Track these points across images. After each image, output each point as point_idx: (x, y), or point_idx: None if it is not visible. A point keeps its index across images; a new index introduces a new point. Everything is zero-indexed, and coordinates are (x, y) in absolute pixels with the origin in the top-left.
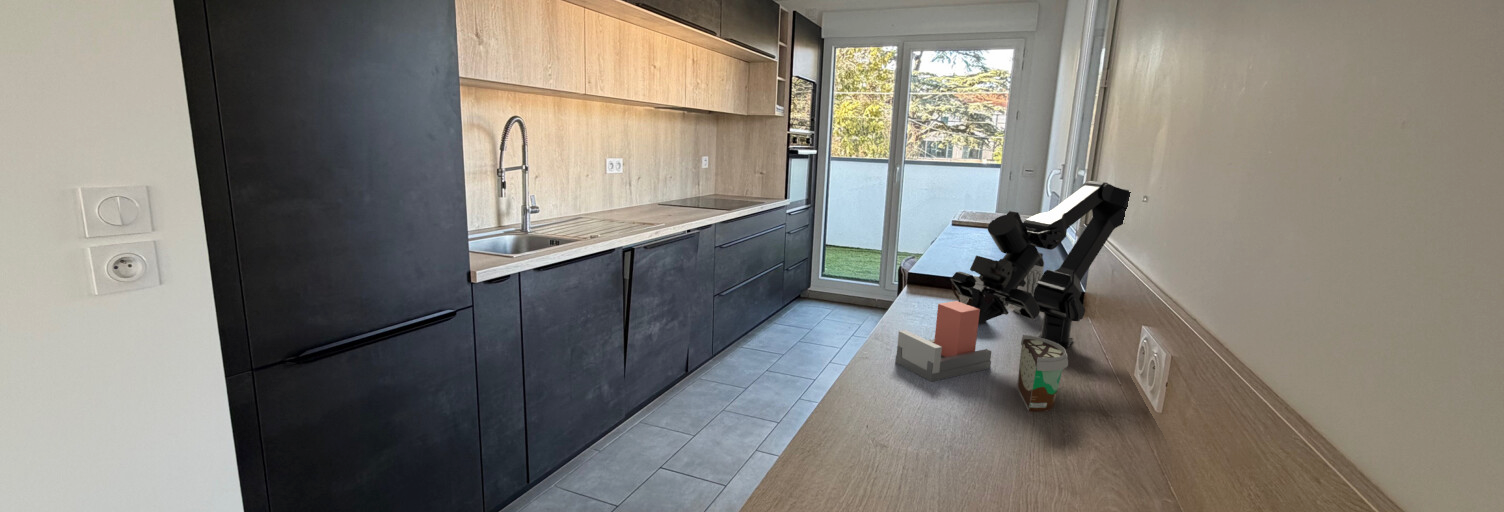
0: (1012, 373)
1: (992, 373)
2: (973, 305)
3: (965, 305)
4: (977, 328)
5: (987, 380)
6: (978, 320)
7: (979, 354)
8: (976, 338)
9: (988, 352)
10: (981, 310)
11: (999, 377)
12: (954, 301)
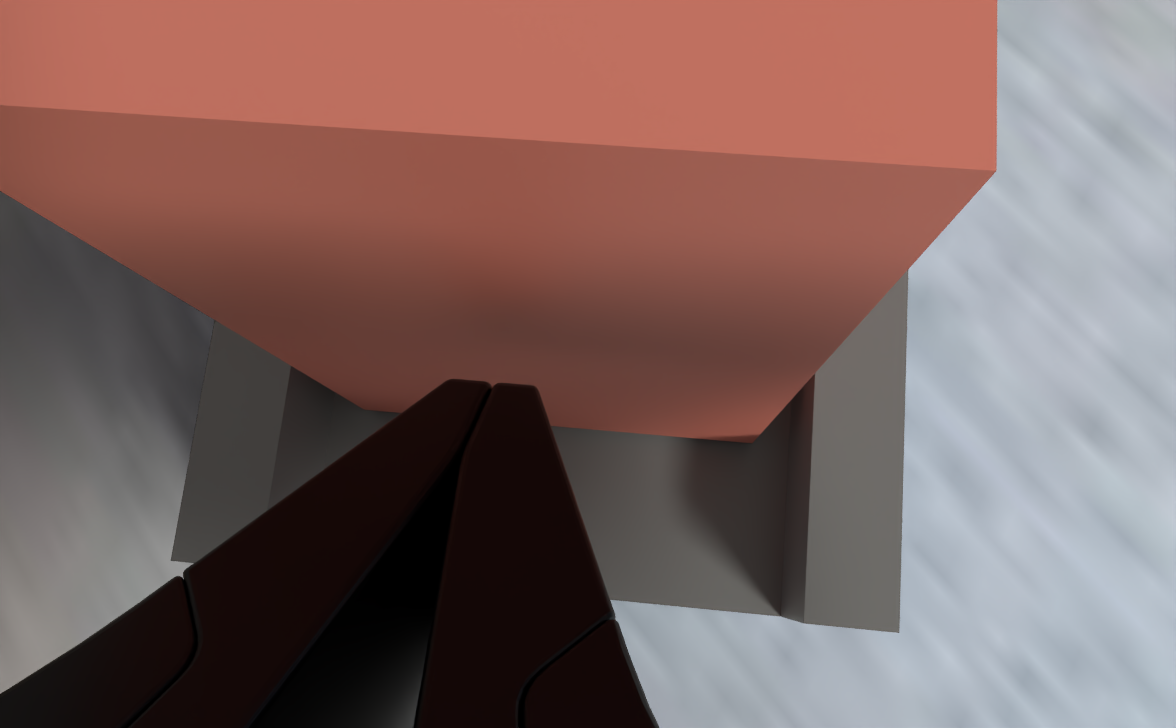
0: (30, 662)
1: (163, 455)
2: (558, 702)
3: (409, 5)
4: (183, 294)
5: (97, 254)
6: (79, 229)
7: (218, 327)
8: (267, 351)
9: (189, 503)
10: (168, 611)
11: (62, 429)
12: (974, 39)
